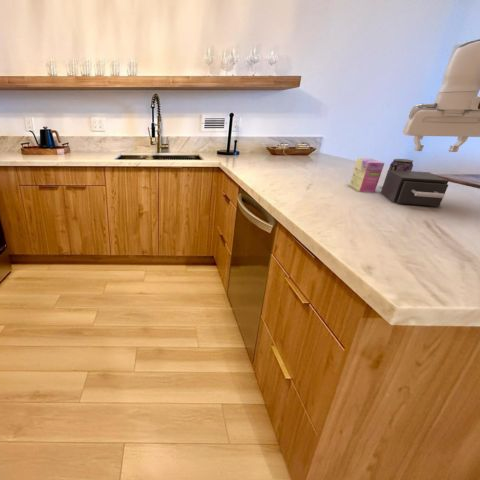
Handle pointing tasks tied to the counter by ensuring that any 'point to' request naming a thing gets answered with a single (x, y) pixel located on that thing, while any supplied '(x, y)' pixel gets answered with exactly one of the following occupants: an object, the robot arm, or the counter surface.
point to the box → (366, 174)
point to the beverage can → (401, 165)
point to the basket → (422, 193)
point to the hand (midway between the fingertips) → (434, 151)
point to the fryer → (397, 177)
